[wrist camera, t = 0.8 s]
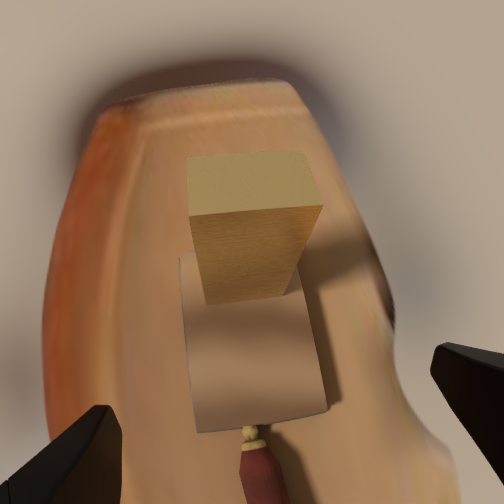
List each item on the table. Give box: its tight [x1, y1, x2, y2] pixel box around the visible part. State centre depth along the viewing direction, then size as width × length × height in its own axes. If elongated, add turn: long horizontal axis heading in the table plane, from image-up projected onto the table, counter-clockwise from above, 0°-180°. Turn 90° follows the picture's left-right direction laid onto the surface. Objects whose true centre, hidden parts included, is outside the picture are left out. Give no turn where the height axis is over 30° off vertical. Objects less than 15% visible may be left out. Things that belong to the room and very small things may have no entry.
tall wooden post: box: [187, 150, 323, 305], centre depth 16 cm, size 3×5×10 cm, turn 99°
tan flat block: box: [179, 252, 328, 433], centre depth 20 cm, size 12×8×2 cm
